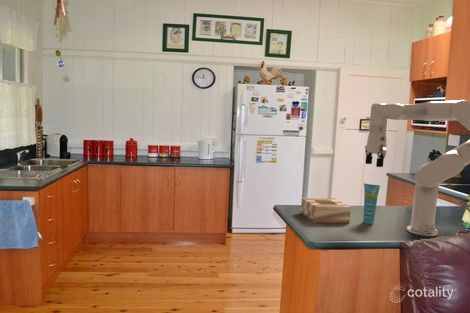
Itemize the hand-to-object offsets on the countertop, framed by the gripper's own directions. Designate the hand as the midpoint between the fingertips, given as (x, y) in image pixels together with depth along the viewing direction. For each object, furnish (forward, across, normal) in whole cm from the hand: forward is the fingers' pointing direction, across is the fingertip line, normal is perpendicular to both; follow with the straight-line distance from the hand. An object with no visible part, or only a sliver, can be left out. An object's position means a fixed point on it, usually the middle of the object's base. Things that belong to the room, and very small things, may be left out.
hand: (373, 165), depth 182 cm
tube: (+29, 0, 0) cm, 29 cm away
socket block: (+28, +8, +19) cm, 35 cm away
